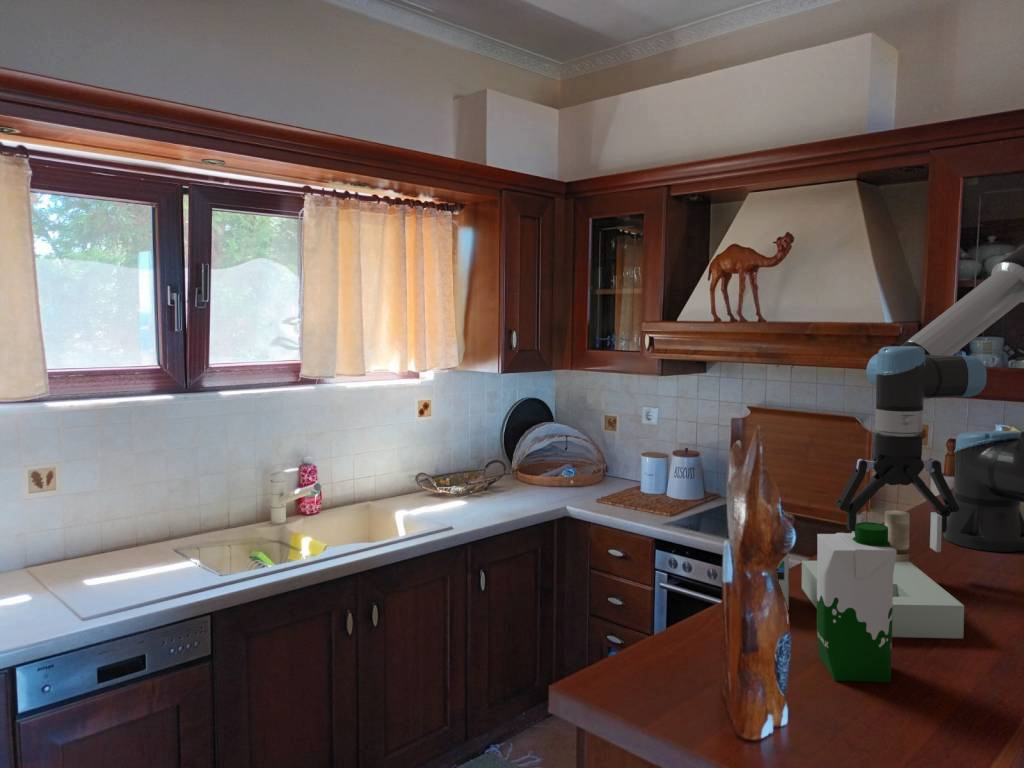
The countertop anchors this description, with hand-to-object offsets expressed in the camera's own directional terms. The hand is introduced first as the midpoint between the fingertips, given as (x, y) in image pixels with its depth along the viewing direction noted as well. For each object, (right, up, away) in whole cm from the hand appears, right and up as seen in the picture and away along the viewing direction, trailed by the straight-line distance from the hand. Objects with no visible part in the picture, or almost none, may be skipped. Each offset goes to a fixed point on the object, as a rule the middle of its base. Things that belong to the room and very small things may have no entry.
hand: (895, 549), depth 137 cm
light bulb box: (-27, -7, -9) cm, 29 cm away
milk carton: (-23, -9, -34) cm, 42 cm away
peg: (0, -5, +1) cm, 5 cm away
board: (-10, -7, -14) cm, 19 cm away
